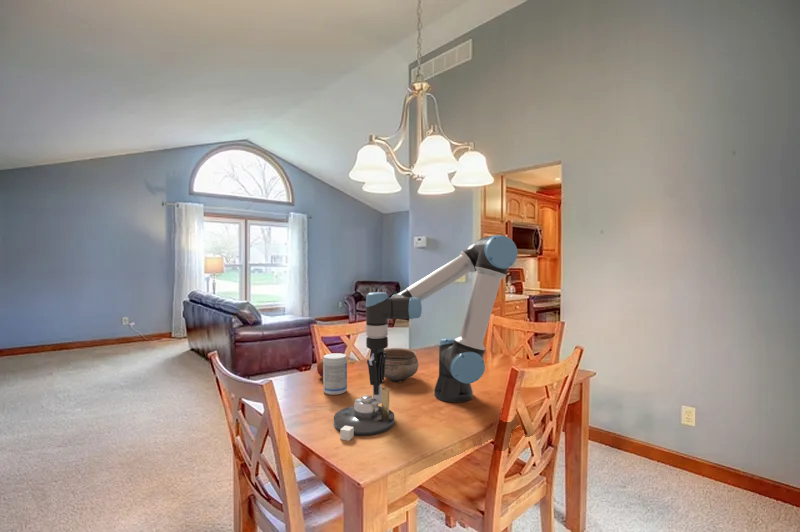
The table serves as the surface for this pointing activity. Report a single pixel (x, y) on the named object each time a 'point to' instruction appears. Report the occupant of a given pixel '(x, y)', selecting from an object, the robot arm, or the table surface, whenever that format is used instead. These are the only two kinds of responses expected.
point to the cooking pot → (400, 364)
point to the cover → (366, 408)
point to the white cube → (347, 433)
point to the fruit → (320, 367)
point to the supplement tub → (334, 373)
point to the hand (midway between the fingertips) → (377, 402)
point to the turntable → (367, 426)
